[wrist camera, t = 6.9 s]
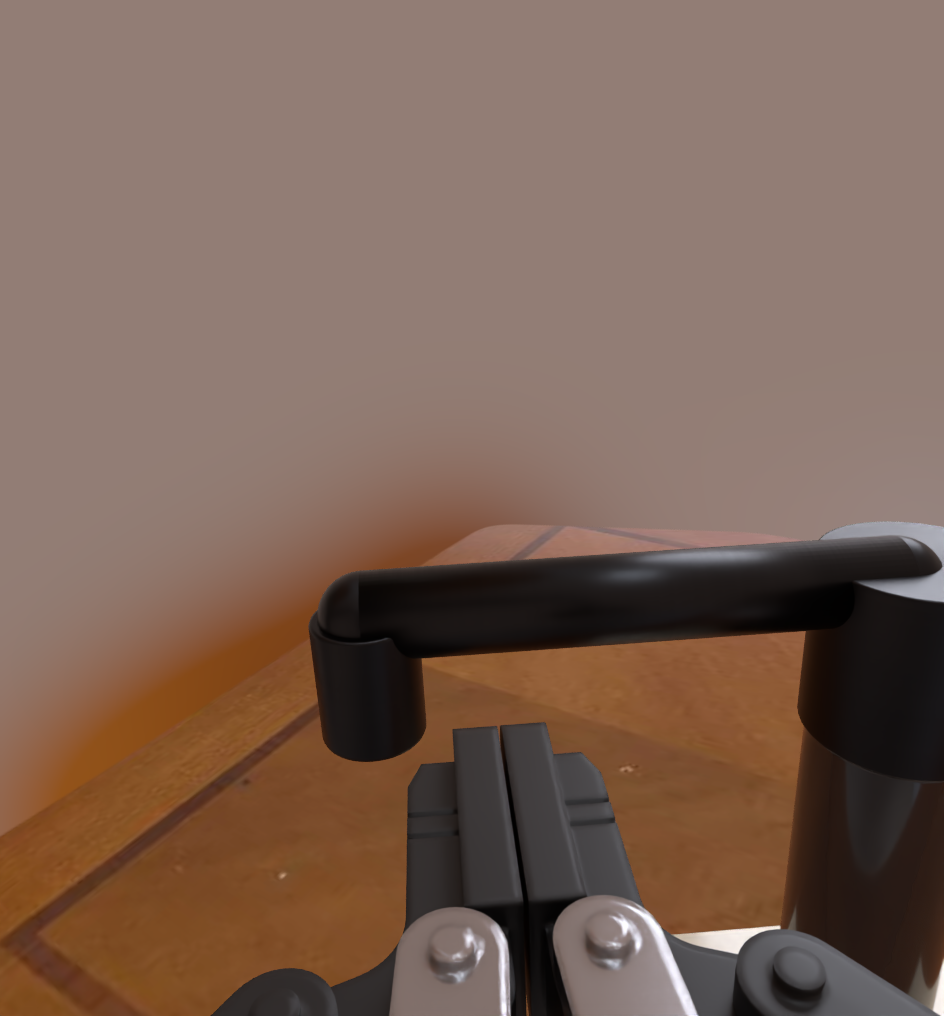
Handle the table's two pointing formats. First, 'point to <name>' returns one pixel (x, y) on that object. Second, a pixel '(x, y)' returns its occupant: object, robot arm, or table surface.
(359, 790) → the table surface
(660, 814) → the table surface
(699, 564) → the spout
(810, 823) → the base
